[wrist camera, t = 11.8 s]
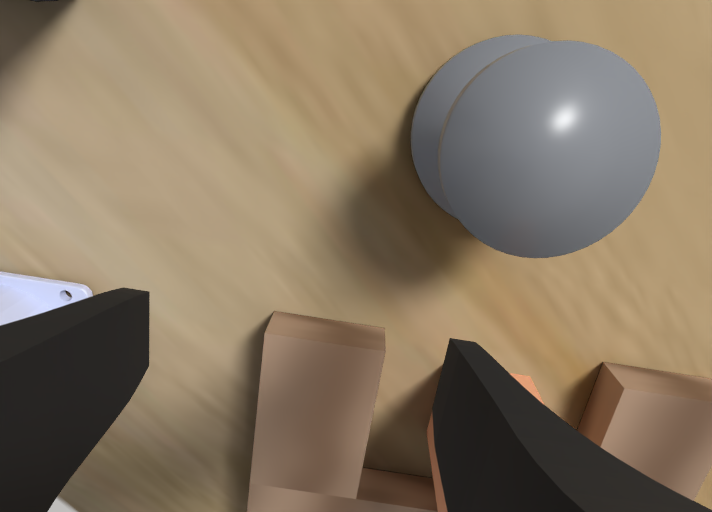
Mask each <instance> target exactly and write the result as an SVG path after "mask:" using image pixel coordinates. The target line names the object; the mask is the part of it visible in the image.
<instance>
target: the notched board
mask: <svg viewBox="0 0 712 512" xmlns="http://www.w3.org/2000/svg"><path fill="white" fill-rule="evenodd" d="M385 352H386V351H385V328H380V327H374V326H367V325H361V324H354V323H348V322H341V321H335V320H328V319H322V318H315V317H309V316H302V315H296V314H290V313H283V312H277V311H274V313H273V315H272V317H271V320H270V322H269V324H268V327H267V329H266V331H265V334H264V344H263V355H262V365H261V375H260V385H259V395H258V405H257V415H256V425H255V435H254V445H253V455H252V465H251V475H250V485H249V495H248V505H247V512H438V510H437V503H436V496H435V488H434V481H433V478H427V477H421V476H414V475H407V474H401V473H394V472H387V471H381V470H374V469H367V468H362V467H363V462H364V457H365V452H366V447H367V442H368V437H369V432H370V427H371V422H372V417H373V412H374V407H375V402H376V397H377V392H378V387H379V382H380V377H381V372H382V367H383V362H384V357H385ZM577 431H578V432H580V433H581V434H582V435H584V436H585V437H587V438H588V439H590V440H591V441H592V442H594V443H595V444H597V445H598V446H599V447H601V448H602V449H604V450H605V451H607V452H609V453H610V454H612V455H613V456H615V457H616V458H618V459H620V460H621V461H623V462H625V463H626V464H628V465H630V466H631V467H633V468H635V469H636V470H638V471H640V472H641V473H643V474H644V475H646V476H648V477H650V478H651V479H653V480H655V481H657V482H659V483H660V484H662V485H664V486H666V487H668V488H670V489H671V490H673V491H675V492H677V493H679V494H681V495H683V496H685V497H687V498H689V499H691V500H693V501H694V499H695V497H696V495H697V494H698V492H699V490H700V488H701V486H702V484H703V482H704V480H705V478H706V476H707V474H708V472H709V470H710V468H711V466H712V379H709V378H703V377H697V376H690V375H684V374H677V373H671V372H664V371H658V370H651V369H645V368H638V367H632V366H625V365H619V364H613V363H606V362H603V364H602V366H601V369H600V372H599V374H598V377H597V380H596V382H595V385H594V387H593V390H592V393H591V395H590V398H589V400H588V403H587V406H586V408H585V411H584V414H583V416H582V419H581V421H580V424H579V427H578V429H577Z"/></svg>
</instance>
